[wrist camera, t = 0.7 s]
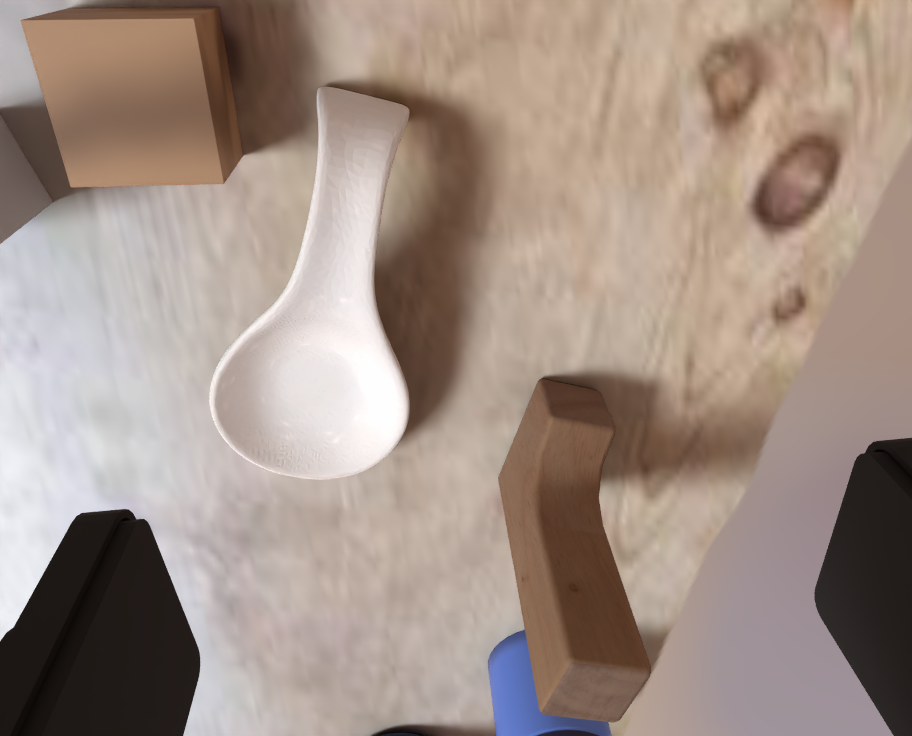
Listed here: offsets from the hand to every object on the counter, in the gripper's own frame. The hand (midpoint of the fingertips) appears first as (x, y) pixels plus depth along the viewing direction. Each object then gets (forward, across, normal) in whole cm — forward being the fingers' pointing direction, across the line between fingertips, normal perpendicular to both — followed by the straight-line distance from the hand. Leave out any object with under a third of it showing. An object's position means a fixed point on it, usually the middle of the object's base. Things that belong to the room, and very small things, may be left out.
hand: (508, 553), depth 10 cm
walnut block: (+32, +13, -1) cm, 34 cm away
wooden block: (+32, -6, +23) cm, 40 cm away
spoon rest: (+32, +7, +11) cm, 34 cm away
